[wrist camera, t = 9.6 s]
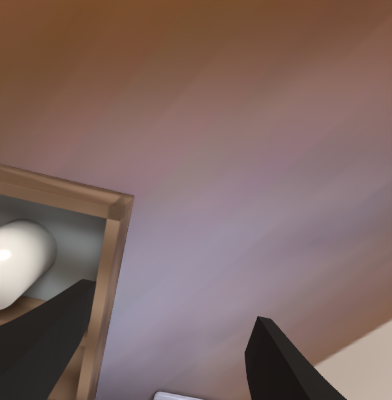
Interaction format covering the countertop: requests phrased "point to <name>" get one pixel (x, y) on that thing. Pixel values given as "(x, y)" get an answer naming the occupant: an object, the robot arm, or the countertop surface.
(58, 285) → the bin
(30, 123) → the countertop surface
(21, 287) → the white rounded egg-shaped piece
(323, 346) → the countertop surface
